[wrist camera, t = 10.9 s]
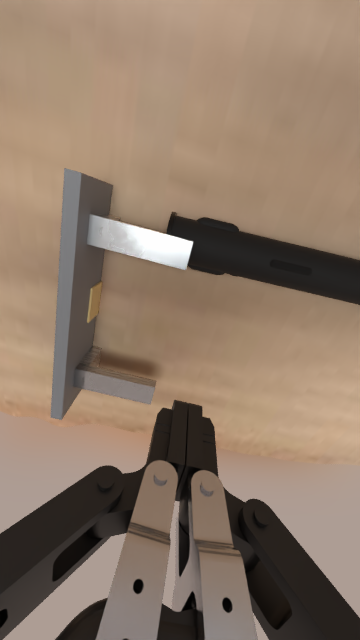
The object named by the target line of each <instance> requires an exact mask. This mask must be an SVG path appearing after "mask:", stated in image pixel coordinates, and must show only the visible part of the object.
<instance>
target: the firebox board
mask: <svg viewBox="0 0 360 640" xmlns="http://www.w3.org/2000/svg"><path fill="white" fill-rule="evenodd" d="M112 188H113V185H111V184H108V183H106V182H103V181H101V180H98V179H96V178H93V177H91V176H88V175H86V174H83V173H80V172H77V171H73V170H69V169H66V168H65V169H64V187H63V205H62V223H61V241H60V259H59V277H58V295H57V313H56V331H55V349H54V367H53V384H52V402H51V418H55V419H60V420H62V419H63V417H64V415H65V414H66V412H67V411H68V409H69V408H70V406H71V405H72V403H73V401H74V400H75V398H76V397H77V395H78V394H79V392H80V391H81V388H77V387H73V382H74V372H75V368H76V367H77V365H78V364H79V363H80V361H81V360H82V359H83V357H84V356H85V355H86V354H87V352H88V351H89V350H90V348H91V347H92V346H93V338H94V330H95V322H96V315H97V314H98V312H99V304H100V296H101V289H102V281H101V275H102V267H103V259H104V251H105V249H104V248H100V247H96V246H92V245H89V244H87V238H88V228H89V218H90V214H108V215H109V211H110V203H111V196H112Z"/></svg>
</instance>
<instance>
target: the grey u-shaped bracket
mask: <svg viewBox="0 0 360 640" xmlns="http://www.w3.org/2000/svg"><path fill="white" fill-rule="evenodd" d="M87 244H89V245H92V246H96V247H100V248H104V249H108V250H111V251H115V252H119V253H123V254H126V255H130V256H134V257H138V258H142V259H145V260H149V261H153V262H157V263H161V264H164V265H168V266H172V267H176V268H180V269H183V270H186V268H187V264H188V260H189V256H190V253H191V249H192V245H193V241H192V240H188V239H184V238H181V237H177V236H173V235H169V234H166V233H163V232H159V231H155V230H152V229H148V228H144V227H141V226H137V225H133V224H130V223H126V222H122V221H120V217H116V216H113V215H108V214H90V218H89V228H88V238H87ZM101 350H102V348H100V347H95V346H92V347H91V348H90V350H89V351H88V352H87V354H86V355H85V356H84V357H83V359H82V360H81V361H80V363H79V364H78V365H77V367H76V368H75V372H74V382H73V387H77V388H81V389H85V390H90V391H94V392H98V393H103V394H107V395H111V396H116V397H120V398H124V399H129V400H133V401H137V402H142V403H146V404H150V405H151V401H152V397H153V393H154V390H155V385H156V381H155V380H150V379H146V378H142V377H138V376H134V375H129V374H125V373H121V372H117V371H112V370H108V369H104V368H100V367H98V365H99V363H100V357H101Z"/></svg>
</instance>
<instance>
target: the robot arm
mask: <svg viewBox="0 0 360 640" xmlns="http://www.w3.org/2000/svg"><path fill="white" fill-rule="evenodd" d="M175 501H180V506H179V513H178V516H177V519H176V576H175V588H174V593H173V601H172V609H170V608H168V607H167V606H165V605H163V604H162V599H163V592H164V586H165V578H166V572H167V564H168V557H169V550H170V528H171V521H172V515H173V509H174V502H175ZM124 533H127V534H126V537H125V541H124V544H123V548H122V551H121V555H120V558H119V562H118V565H117V569H116V572H115V575H114V579H113V582H112V585H111V589H110V592H109V596H108V598H105V599H103V600H100V601H97V602H96V603H94V604H92V605H90V606H89V607H87V608H86V609H84V610H83V611H82V612H81V613H79V614H78V615H77V616H76V617H75V618H74V619H73V620H72V621H71V622H70V623H69V624H68V625H67V627H66V628H65V629H64V630H63V631H62V632H61V633H60V635H59V636H58V637H57V638H56V639H55V640H258V639H257V634H256V629H255V623H254V618H253V613H254V615H255V616H256V618H257V620H258V621H259V623H260V625H261V627H262V628H263V630H264V632H265V633H266V635H267V637H268V639H269V640H360V618H359V617H358V615H357V614H356V613H355V612H354V610H353V609H352V608H351V607H350V606H349V604H348V603H347V602H346V601H345V599H344V598H343V597H342V596H341V595H340V593H339V592H338V591H337V590H336V588H335V587H334V586H333V585H332V583H331V582H330V581H329V580H328V578H326V576H325V575H324V574H323V572H322V571H321V570H320V569H319V567H318V566H317V565H316V564H315V563H314V561H313V560H312V559H311V558H310V556H309V555H308V554H307V553H306V552H305V550H304V549H303V548H302V546H300V544H299V543H298V542H297V540H296V539H295V538H294V537H293V536H292V534H291V533H290V532H289V530H288V529H287V528H286V527H285V526H284V524H283V523H282V522H281V521H280V519H279V518H278V517H277V516H276V515H275V513H274V512H273V511H272V510H271V508H270V507H269V506H268V505H266V504H265V503H264V502H262V501H260V500H257V499H250V500H248V501H246V502H243V501H242V500H240V499H238V498H236V497H235V496H233V495H232V494H230V493H229V492H228V491H227V490H226V489H225V488H224V487H223V485H222V483H221V481H220V479H219V477H218V469H217V457H216V445H215V431H214V426H213V424H212V422H211V420H210V418H206V417H202V406H199V405H195V404H191V403H186V402H182V401H178V400H174V403H173V406H172V410H171V409H167V408H162V409H161V411H160V412H159V413H158V415H157V419H156V422H155V426H154V430H153V434H152V439H151V443H150V448H149V453H148V458H147V462H146V465H145V466H144V467H143V468H142V469H140V470H138V471H136V472H133V473H125V474H122V473H121V471H120V470H119V469H117V468H115V467H113V466H102V467H99V468H97V469H96V470H94V471H93V472H91V473H90V474H88V475H87V476H85V477H84V478H82V479H81V480H79V481H78V482H77V483H75V484H74V485H72V486H70V487H69V488H67V489H66V490H65V491H63V492H61V493H60V494H58V495H57V496H56V497H54V498H53V499H51V500H50V501H48V502H47V503H45V504H44V505H42V506H41V507H40V508H38V509H36V510H35V511H33V512H32V513H30V514H29V515H27V516H26V517H24V518H23V519H22V520H20V521H19V522H17V523H15V524H14V525H13V526H11V527H10V528H9V529H7V530H5V531H4V532H2V533H1V534H0V640H2V639H4V638H5V636H7V635H8V634H9V633H10V632H11V631H12V630H13V629H14V628H15V627H16V626H17V625H18V624H19V623H20V622H21V621H23V620H24V619H25V618H26V617H27V616H28V615H29V614H30V613H31V612H32V611H33V610H34V609H35V608H36V607H37V606H38V605H39V604H40V603H41V602H43V600H44V599H46V598H47V597H48V596H49V595H50V594H51V593H52V592H53V591H54V590H55V589H56V588H57V587H58V586H59V585H61V584H62V582H64V581H65V580H66V579H67V578H68V577H69V576H70V575H71V574H72V573H73V572H74V571H75V570H76V569H77V568H78V567H80V566H81V565H82V564H83V563H84V562H85V561H86V560H87V559H88V558H89V557H90V556H91V555H92V554H93V553H94V552H95V551H96V550H97V549H98V548H100V546H102V545H103V544H104V543H105V542H106V541H107V540H108V539H109V538H110V537H111V536H114V535H119V534H124ZM252 611H253V612H252Z"/></svg>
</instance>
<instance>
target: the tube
mask: <svg viewBox="0 0 360 640" xmlns="http://www.w3.org/2000/svg"><path fill="white" fill-rule="evenodd" d="M166 234H169V235H173V236H177V237H181V238H184V239H188V240H192V241H193V245H192V249H191V253H190V256H189V260H188V264H187V265H188V266H189V267H190V268H191V269H194V270H198V271H202V272H207V273H211V274H215V275H222V274H224V273H227V274H230V275H233V276H240V277H244V278H248V279H253V280H257V281H261V282H265V283H270V284H274V285H278V286H282V287H287V288H291V289H295V290H299V291H304V292H308V293H312V294H316V295H321V296H325V297H329V298H334V299H338V300H342V301H346V302H351V303H355V304H359V305H360V260H356V259H352V258H348V257H344V256H339V255H335V254H331V253H327V252H323V251H319V250H315V249H311V248H307V247H302V246H298V245H294V244H290V243H286V242H282V241H278V240H274V239H270V238H265V237H261V236H257V235H253V234H249V233H245V232H241V231H239V229H238V227H237V226H235V225H234V224H230V223H226V222H222V221H218V220H214V219H210V218H200V219H198V220H197V221H195V220H191V219H187V218H183V217H179V216H177V213H176V212H172V214H171V216H170V220H169V224H168V228H167V232H166Z"/></svg>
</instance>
